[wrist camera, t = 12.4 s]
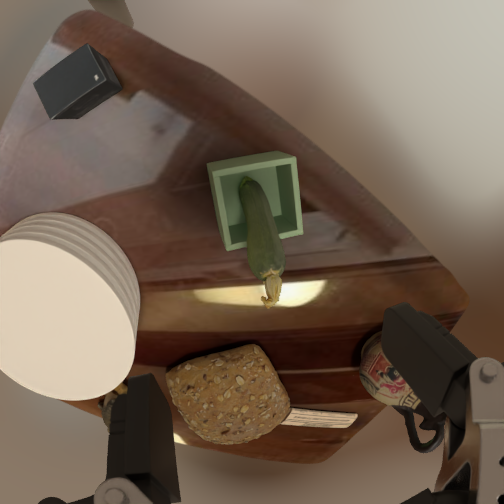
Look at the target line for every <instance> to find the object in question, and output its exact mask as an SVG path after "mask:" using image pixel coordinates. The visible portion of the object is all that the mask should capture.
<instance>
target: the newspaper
mask: <svg viewBox="0 0 504 504" xmlns="http://www.w3.org/2000/svg"><path fill="white" fill-rule="evenodd" d="M288 410H289V412H288V414H286V416H285V418H284V420H282V421H281V424H286V425H298V426H312V427H333V428H346V427H348V426H350V425H351V424H352V423H353V422H354V420H355V419H356V418H357V416H358V415H357V414H352V413H337V412H325V411H315V410H305V409H297V408H290V409H288Z"/></svg>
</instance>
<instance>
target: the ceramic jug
mask: <svg viewBox="0 0 504 504" xmlns="http://www.w3.org/2000/svg"><path fill="white" fill-rule="evenodd" d="M381 336H382V331H380V332H378V333H376V334H374V335H373V336H372V337H371V338H369V339H368V340H367V341H366V343H365V344H364V346H363V348H362V352H361V359H362V360H361V363H360V378H361V382H362V384H363V386H364V387H365V388H366V390H367V391H368V392H369V393H370V394H371V395H372V396H373V397H374V398H376V399H377V400H379V401H380V402H382V403H385V404H387V405H389V406H392V407H393V408H394V409H396V410H397V411H398V412H399V413H400V414H402V415H403V416H404V418H405V424H406V427H407V430H408V435H409V438H410V443H411V445H412V446H413V448H414V449H415V450H416V451H419V452H420V453H428V452H431V451H433V450H434V449H435V448H436V447H438V446H439V445H440V443H441V442H442V440H443V438H444V425H445V421H446V417H447V414H446V413H445V412H442V413H441V414H439V415H437V416H436V417H433V416H432V415H431V413H430V412H429V411H428V409H427V408H426V407H425V406H424V404H423V403H422V402H421V401H420V399H419V398H418V397H417V395H416V394H415V393H414V392H413V390H412V389H411V388H410V387H409V385H408V384H407V383H406V382H405V380H404V379H403V378H402V377H401V375H400V374H399V373H398V372H397V370H396V369H395V368H394V367H393V365H392V364H391V363H390V362H389V360H388V359H387V358H386V357H385V355H384V353H383V351H382V348H381ZM413 412H414V413H417V414H419V415H421V416H423V417H424V420H423V422H422V423H421V424H420V426H419V427H420V428H421V429H423V430H436V434H435V436H434V438H433V439H432V440H430V441H429V442H427V443H423V444H422V443H420V440H419V438H418V435H417V431H416V428H415V423H414V416H413Z"/></svg>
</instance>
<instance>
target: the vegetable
mask: <svg viewBox="0 0 504 504" xmlns="http://www.w3.org/2000/svg"><path fill="white" fill-rule="evenodd" d="M239 188H240V190H239V197H240V200H241V204H242V208H243V212H244V215H245V218H246V222H247V229H248V234H247V256H248V262H249V266H250V268H251V270H252V272H253V273H254V275H255V276H256V277H257V278H258V279H260V280H262V281H263V283H265V289H266V294H267V296H268V299H267V300H266V297H263V296H262V297H261V300H262V301H263V303H264V304H265V305H263V306H266V307H267V308H270V307H271V306H273V305H275V303H276V302H277V301H279V296H280V292H281V286H282V280H281V279H280V278H279V277H280V275H281V274H282V273H283V271H284V269H285V264H286V260H285V254H284V250H283V246H282V243H281V239H280V237H279V234H278V231H277V227H276V224H275V221H274V218H273V215H272V212H271V208H270V204H269V201H268V199H267V196H266V195H265V193H264V191H263V189H262V187H261V185H260V184H259V183H258V182H256V181H254V180H253V179H252V178H250V177H248V176H246V177H244V178H243V180H242V182H241V185H240V186H239Z"/></svg>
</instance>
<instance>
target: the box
mask: <svg viewBox="0 0 504 504" xmlns="http://www.w3.org/2000/svg"><path fill="white" fill-rule="evenodd" d="M33 85H34V87H35V89H36V91H37V93H38V95H39V97H40V100H41V102H42V104H43V106H44V108H45V110H46V112H47V114H48V116H49V118H50V119H51V120H53V119H78V118H80V117H81V116H83V115H84V114H85V113H87V112H88V111H90V110H91V109H93V108H94V107H96V106H97V105H99V104H100V103H102V102H103V101H105V100H106V99H108V98H109V97H111V96H113V95H114V94H116V93H117V92H119V91H120V90H122V87H121V85H120V83H119V81H118V79H117V77H116V76H115V74H114V72H113V70H112V68H111V66H110V64H109V62H108V60H107V59H106V58H105V57H104V56H103V55H101V54H100V53H99V52H98V51H96V50H95V49H94V48H93V47H91V46H90V45H89V44H85V45H83V46H82V47H80V48H79V49H78V50H76V51H75V52H73V53H72V54H70V55H69V56H67V57H66V58H65V59H63V60H62V61H61V62H59V63H58V64H56V65H55V66H54V67H53V68H51V69H50V70H49V71H47V72H46V73H45V74H43V75H42V76H41V77H40V78H38V79H37V80H36V81H35V82H33Z"/></svg>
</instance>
